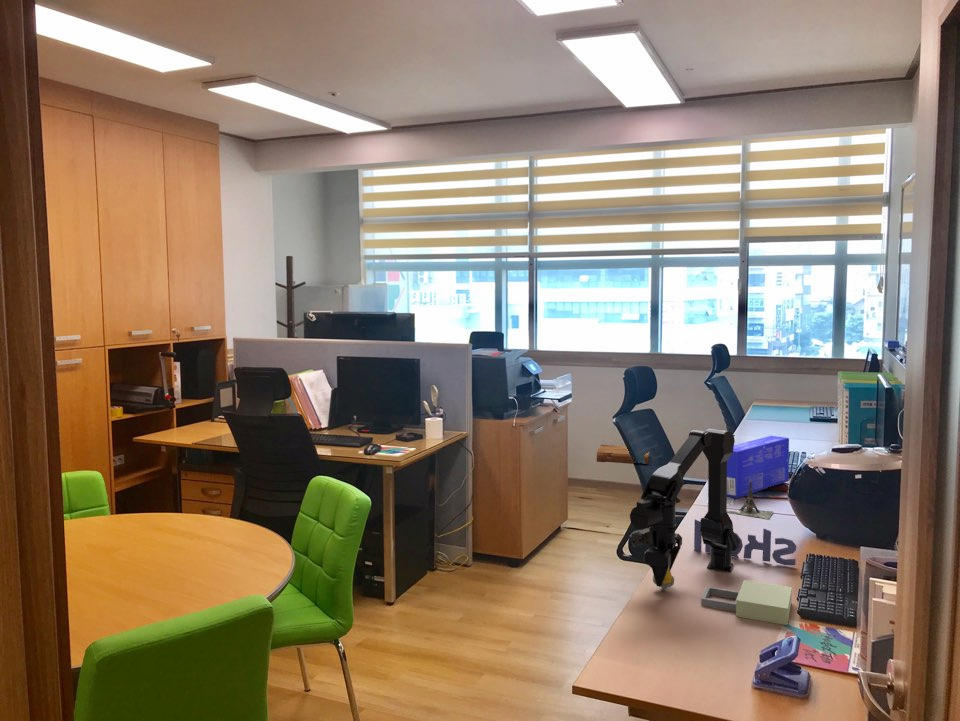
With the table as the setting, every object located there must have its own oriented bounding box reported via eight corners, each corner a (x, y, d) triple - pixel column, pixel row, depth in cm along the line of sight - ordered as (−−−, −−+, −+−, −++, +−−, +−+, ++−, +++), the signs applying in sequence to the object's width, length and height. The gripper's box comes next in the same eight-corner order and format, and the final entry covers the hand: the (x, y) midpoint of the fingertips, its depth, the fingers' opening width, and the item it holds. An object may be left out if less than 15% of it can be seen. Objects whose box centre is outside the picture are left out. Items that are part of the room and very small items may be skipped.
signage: (795, 566, 211) (796, 532, 210) (795, 567, 211) (796, 533, 210) (694, 551, 224) (695, 519, 223) (693, 552, 224) (694, 519, 223)
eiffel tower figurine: (723, 514, 263) (724, 476, 262) (730, 506, 272) (731, 471, 271) (768, 520, 256) (769, 482, 254) (773, 512, 264) (774, 475, 263)
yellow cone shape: (669, 584, 197) (672, 551, 194) (675, 596, 192) (678, 562, 189) (649, 584, 196) (652, 551, 194) (655, 597, 191) (657, 563, 188)
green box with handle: (708, 589, 195) (709, 574, 194) (791, 602, 186) (791, 587, 186) (699, 609, 182) (699, 593, 182) (787, 625, 173) (787, 608, 173)
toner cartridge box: (770, 478, 312) (771, 435, 310) (789, 482, 305) (790, 437, 303) (717, 494, 287) (718, 447, 285) (736, 499, 280) (737, 451, 279)
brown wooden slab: (596, 465, 340) (596, 452, 339) (600, 456, 358) (600, 444, 357) (648, 467, 334) (648, 455, 333) (649, 458, 352) (649, 446, 351)
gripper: (641, 508, 204) (641, 563, 206) (623, 527, 188) (622, 587, 189) (682, 513, 199) (682, 570, 201) (668, 533, 183) (667, 595, 184)
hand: (662, 580), depth 194 cm, fingers open, 9 cm apart
